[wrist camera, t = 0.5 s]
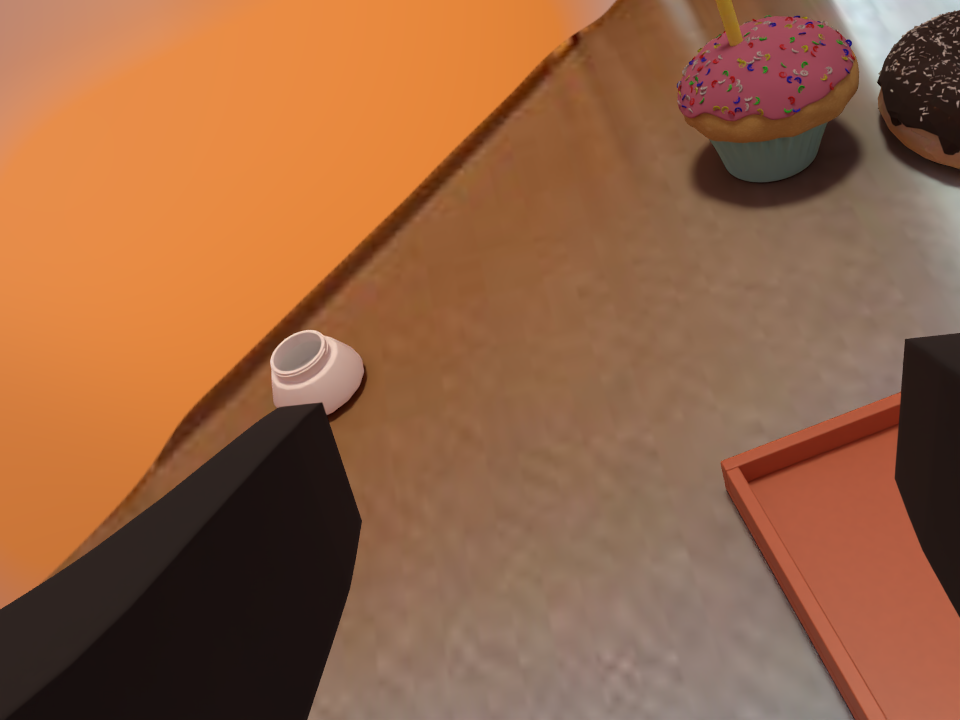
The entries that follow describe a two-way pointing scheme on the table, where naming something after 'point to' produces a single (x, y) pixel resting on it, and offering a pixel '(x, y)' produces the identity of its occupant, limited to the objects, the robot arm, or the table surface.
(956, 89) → the donut
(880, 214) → the table surface
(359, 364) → the lidless jar
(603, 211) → the table surface
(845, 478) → the red tray
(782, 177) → the cupcake
